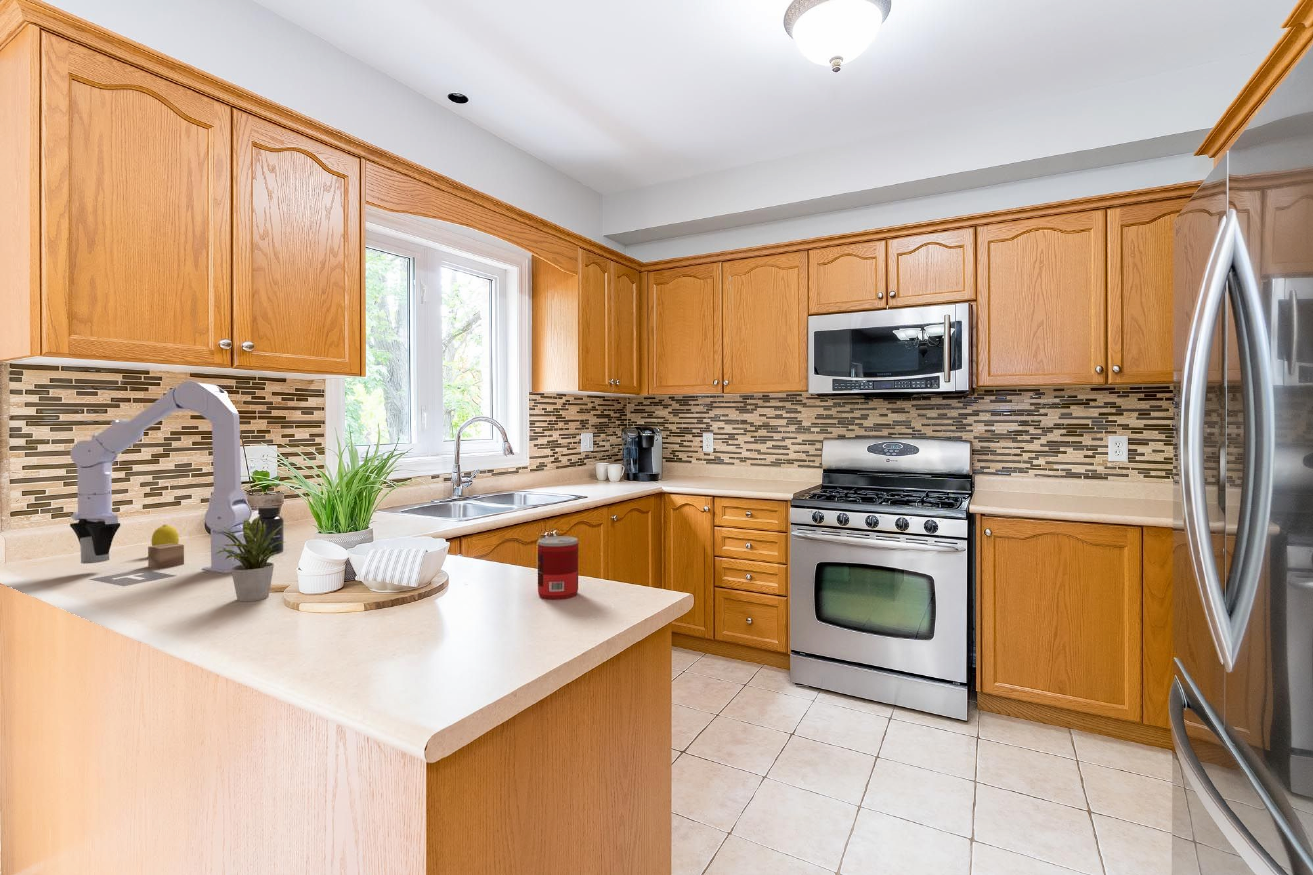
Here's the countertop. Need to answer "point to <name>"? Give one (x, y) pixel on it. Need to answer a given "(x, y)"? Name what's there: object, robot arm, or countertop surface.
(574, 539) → the canned food
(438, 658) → the countertop surface
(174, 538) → the lemon
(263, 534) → the house plant
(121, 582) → the letter card
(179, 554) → the walnut cube
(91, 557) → the grey jar
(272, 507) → the supplement bottle
